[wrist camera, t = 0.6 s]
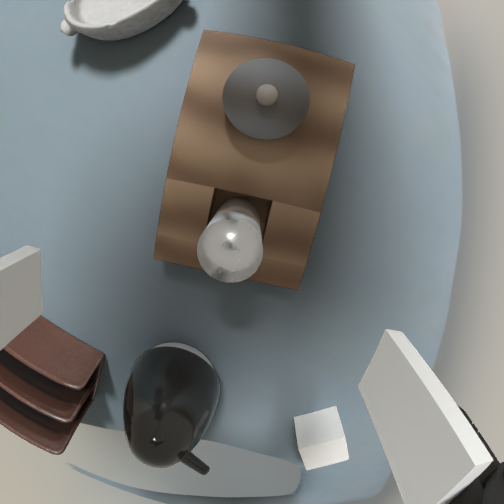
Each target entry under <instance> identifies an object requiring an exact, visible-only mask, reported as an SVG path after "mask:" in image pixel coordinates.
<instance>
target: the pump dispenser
mask: <svg viewBox="0 0 504 504" xmlns="http://www.w3.org/2000/svg"><path fill="white" fill-rule="evenodd" d="M219 394H220V382H219V379H218V376H217V374H216V372H215V370H214V368H213V366H212V364H211V363H210V361H209V360H208V359H207V357H206V356H205V355H204V354H202V353H201V352H200V351H198V350H197V349H195V348H193V347H191V346H189V345H186V344H182V343H174V342H171V343H163V344H160V345H157V346H155V347H153V348H151V349H149V350H147V351H145V352H143V353H142V354H141V355H140V356H139V357H138V358H137V359H136V361H135V363H134V364H133V366H132V369H131V371H130V374H129V377H128V381H127V385H126V389H125V394H124V403H123V420H124V430H125V435H126V439H127V442H128V445H129V448H130V450H131V451H132V453H133V454H134V455H135V457H136V458H137V459H139V460H140V461H141V462H143V463H145V464H146V465H149V466H152V467H158V468H163V467H169V466H171V465H174V464H176V463H177V462H179V461H181V462H182V463H184V464H185V465H187V466H189V467H190V468H192V469H194V470H195V471H197V472H198V473H200V474H202V475H206V474H207V473H208V472H209V466H207V465H206V464H205V463H204V462H202V461H201V460H200V459H199V458H197V457H196V456H195V455H194V454H193V453H192V452H191V450H192V449H193V448H194V447H195V446H196V445H197V443H198V442H199V441H200V439H201V438H202V436H203V435H204V433H205V432H206V430H207V428H208V426H209V424H210V422H211V420H212V418H213V415H214V412H215V409H216V406H217V403H218V400H219Z"/></svg>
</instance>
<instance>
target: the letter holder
mask: <svg viewBox="0 0 504 504" xmlns="http://www.w3.org/2000/svg"><path fill="white" fill-rule="evenodd" d="M104 356H105V354H104V353H102V352H100V351H98V350H96V349H95V348H93V347H91V346H89V345H87V344H86V343H84V342H82V341H80V340H79V339H77V338H75V337H74V336H72V335H70V334H69V333H67V332H66V331H64V330H62V329H61V328H59V327H58V326H56V325H54V324H53V323H51V322H50V321H48V320H47V319H45V318H44V317H42V316H41V315H40V316H39V317H38V318H37V319H36V320H34V321H33V322H32V323H31V324H30V325H29V326H27V327H26V328H25V329H24V330H23V331H22V332H21V333H19V334H18V335H17V336H16V337H15V338H14V339H13V340H12V341H10V342H9V343H8V344H7V345H6V346H5V347H4V348H3V349H2V350H1V351H0V424H1V425H3V426H4V427H6V428H7V429H9V430H10V431H12V432H13V433H15V434H16V435H18V436H19V437H21V438H23V439H24V440H26V441H28V442H29V443H31V444H33V445H35V446H37V447H39V448H41V449H43V450H45V451H47V452H49V453H52V454H56V455H59V454H62V453H63V452H64V451H65V449H66V447H67V445H68V443H69V441H70V440H71V438H72V436H73V434H74V432H75V430H76V428H77V426H78V425H79V423H80V422H81V420H82V418H83V417H84V415H85V413H86V411H87V410H88V408H89V406H90V405H91V403H92V401H93V400H94V397H95V393H96V389H97V385H98V381H99V376H100V373H101V369H102V365H103V361H104Z"/></svg>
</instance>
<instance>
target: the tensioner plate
mask: <svg viewBox="0 0 504 504" xmlns="http://www.w3.org/2000/svg"><path fill="white" fill-rule="evenodd" d="M354 68H355V64H352V63H349V62H346V61H343V60H340V59H337V58H334V57H331V56H328V55H324V54H321V53H318V52H314V51H311V50H307V49H303V48H300V47H296V46H292V45H288V44H283V43H279V42H275V41H270V40H265V39H260V38H255V37H250V36H244V35H238V34H232V33H225V32H218V31H210V30H204V31H203V34H202V37H201V40H200V43H199V47H198V50H197V53H196V57H195V60H194V64H193V67H192V71H191V74H190V78H189V81H188V85H187V89H186V93H185V97H184V101H183V104H182V109H181V113H180V117H179V121H178V125H177V130H176V134H175V138H174V143H173V148H172V152H171V157H170V162H169V167H168V172H167V177H166V183H165V188H164V194H163V199H162V205H161V211H160V218H159V224H158V230H157V237H156V244H155V252H154V259H159V260H163V261H167V262H171V263H176V264H180V265H184V266H189V267H193V268H198V269H202V270H204V269H203V268H202V266H201V265H200V262H199V260H198V255H197V245H198V241H199V238H200V236H201V235H202V233H203V231H204V230H205V229H206V227H207V226H208V224H209V223H210V221H211V220H212V218H213V217H214V215H215V214H216V213H217V211H218V210H219V208H220V207H221V205H222V204H223V203H224V202H225V201H227V200H228V199H231V198H234V197H243V198H246V199H248V200H250V201H251V202H253V204H254V205H255V206H256V207H257V209H258V212H259V219H260V228H261V236H262V245H263V257H262V261H261V264H260V266H259V268H258V269H257V270H256V272H255V273H254V274H253V275H252V276H250V277H249V278H247V280H252V281H257V282H261V283H266V284H271V285H276V286H280V287H285V288H290V289H295V290H299V287H300V283H301V280H302V277H303V273H304V270H305V267H306V263H307V260H308V256H309V253H310V249H311V246H312V242H313V239H314V235H315V232H316V228H317V224H318V221H319V217H320V213H321V210H322V206H323V202H324V198H325V194H326V191H327V187H328V183H329V179H330V175H331V171H332V167H333V163H334V159H335V155H336V150H337V146H338V142H339V138H340V133H341V129H342V125H343V120H344V116H345V111H346V106H347V102H348V97H349V92H350V87H351V83H352V78H353V73H354Z"/></svg>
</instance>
